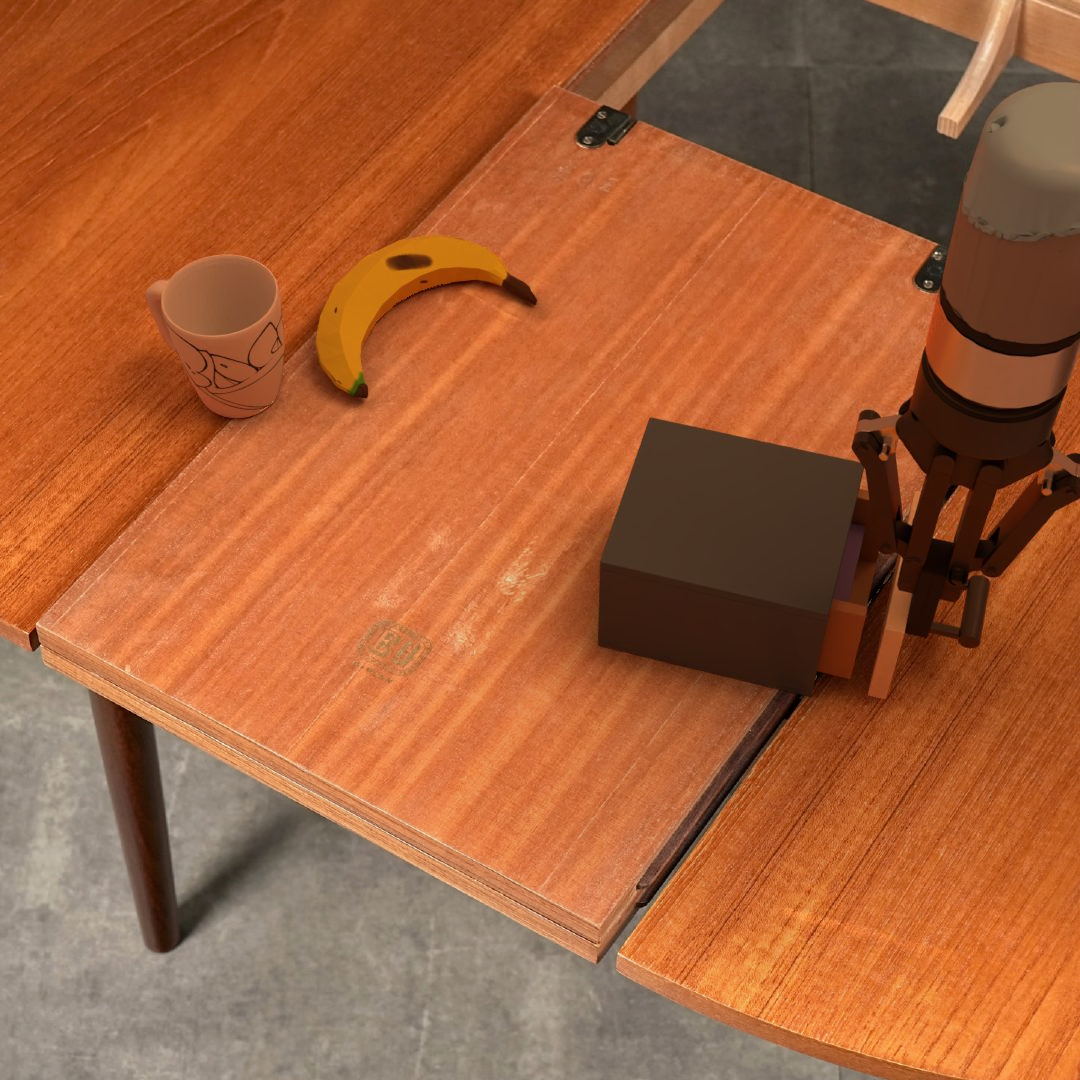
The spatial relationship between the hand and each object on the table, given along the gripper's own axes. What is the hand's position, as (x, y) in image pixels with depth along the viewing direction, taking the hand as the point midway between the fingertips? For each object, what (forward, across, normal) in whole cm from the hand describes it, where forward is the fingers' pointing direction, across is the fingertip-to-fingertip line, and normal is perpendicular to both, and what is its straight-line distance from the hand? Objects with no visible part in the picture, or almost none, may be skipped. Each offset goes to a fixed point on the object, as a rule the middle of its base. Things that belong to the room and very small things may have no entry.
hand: (918, 618), depth 106 cm
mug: (+8, +54, -13) cm, 56 cm away
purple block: (+6, +7, -4) cm, 9 cm away
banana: (+8, +41, -22) cm, 47 cm away
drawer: (+7, +5, -4) cm, 9 cm away
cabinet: (+8, +13, -4) cm, 15 cm away
